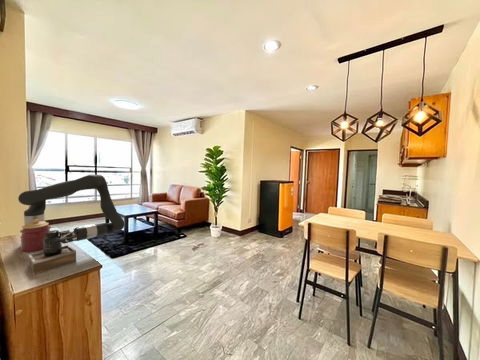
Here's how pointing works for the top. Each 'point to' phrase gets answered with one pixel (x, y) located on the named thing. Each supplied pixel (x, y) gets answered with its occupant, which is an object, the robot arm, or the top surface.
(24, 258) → the top surface
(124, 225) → the robot arm
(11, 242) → the top surface
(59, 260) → the open rectangular tray
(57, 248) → the supplement bottle
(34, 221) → the canister
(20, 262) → the top surface
